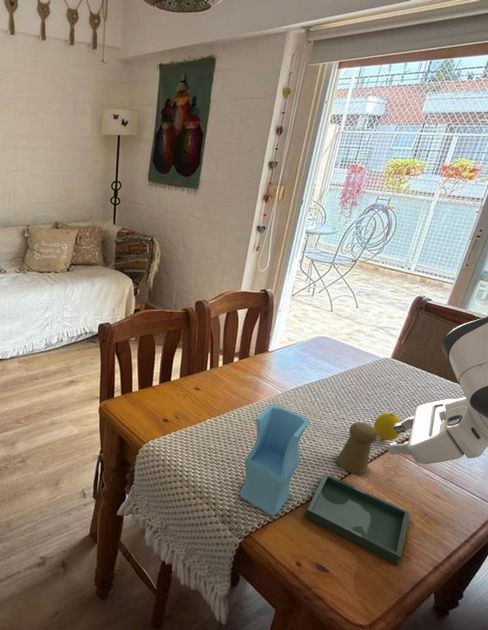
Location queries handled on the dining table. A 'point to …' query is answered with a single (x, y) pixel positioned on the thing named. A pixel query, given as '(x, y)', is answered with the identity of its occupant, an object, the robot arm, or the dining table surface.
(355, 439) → the pepper mill
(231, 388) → the dining table surface
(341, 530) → the spice tray
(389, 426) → the lemon
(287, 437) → the blue toy chair
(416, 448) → the robot arm
